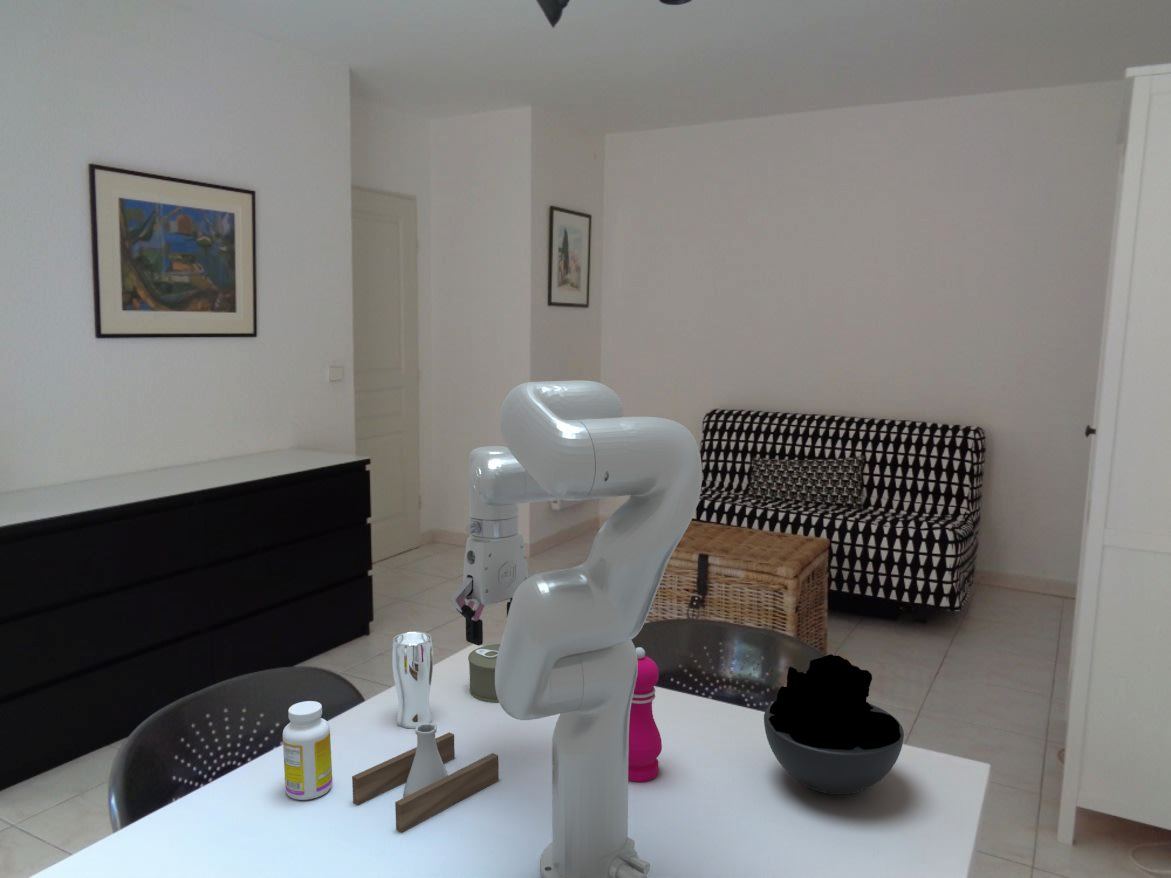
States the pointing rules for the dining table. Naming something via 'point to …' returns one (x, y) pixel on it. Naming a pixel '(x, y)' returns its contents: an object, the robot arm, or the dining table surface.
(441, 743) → the chute
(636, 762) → the pepper mill
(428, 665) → the beer glass
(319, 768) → the supplement bottle
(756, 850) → the dining table surface
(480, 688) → the can
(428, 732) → the flask
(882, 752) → the bowl of black rocks
